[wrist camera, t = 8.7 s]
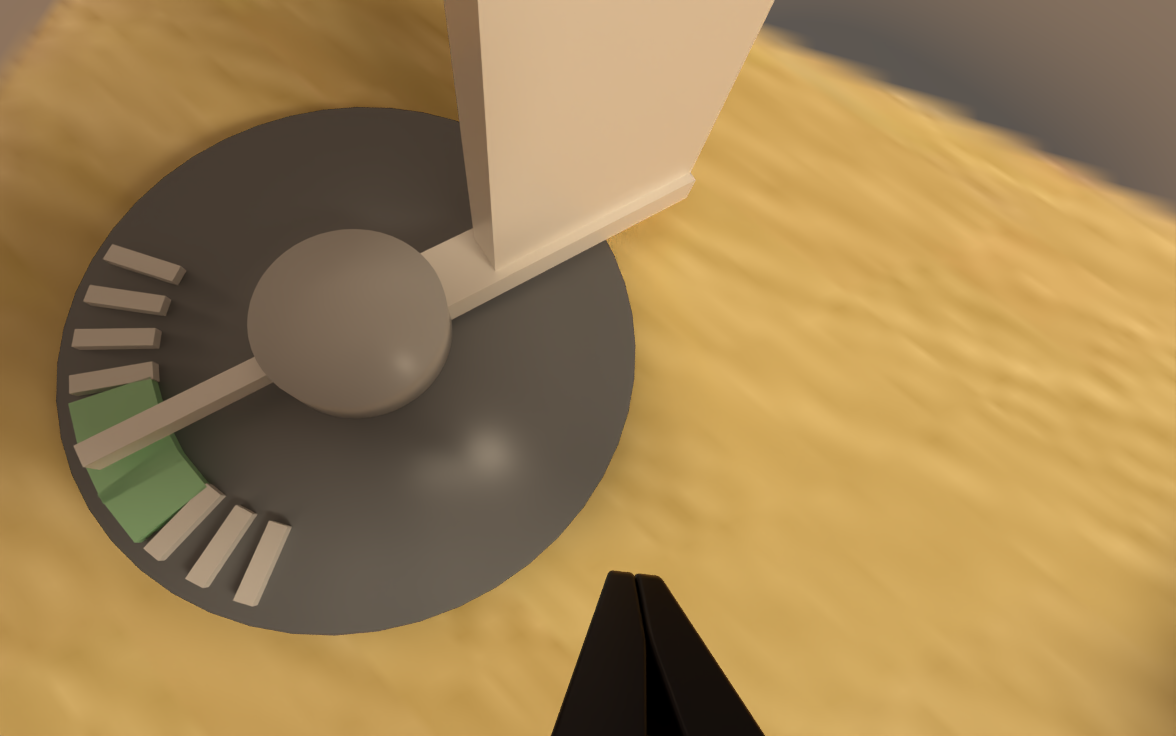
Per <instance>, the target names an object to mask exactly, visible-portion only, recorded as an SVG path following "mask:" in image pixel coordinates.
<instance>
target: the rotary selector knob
mask: <svg viewBox="0 0 1176 736" xmlns="http://www.w3.org/2000/svg"><path fill="white" fill-rule="evenodd" d="M773 2H774V0H444V6H445V14H446V22H447V30H448V37H449V45H450V53H451V61H452V69H453V76H454V84H455V92H456V100H457V107H458V115H459V123H460V131H461V139H462V146H463V154H464V162H465V170H466V178H467V185H468V193H469V201H470V209H471V217H472V224H473V228H472V229H470V230H468V231H466V232H464V233H462V234H460V235H457V236H455V237H453V238H451V239H449V240H447V241H445V242H443V243H441V244H439V245H437V246H435V247H432V248H430V249H428V250H426V251H424V252H422V253H419V252H418V251H417V250H415V249H414V248H413V247H411V246H410V245H408V244H407V243H405V242H403V241H401V240H399V239H397V238H395V237H393V236H390V235H387V234H384V233H381V232H376V231H371V230H362V229H343V230H336V231H330V232H326V233H322V234H318V235H316V236H313V237H311V238H308V239H306V240H304V241H302V242H300V243H298V244H296V245H294V246H293V247H291V248H290V249H289V250H287V251H286V252H284V253H283V254H282V255H281V256H280V257H278V258H277V259H276V260H275V261H274V262H273V263H272V264H271V266H270V267H269V268H268V269H267V270H266V272H265V273H264V274H263V276H262V277H261V279H260V280H259V282H258V284H257V286H256V288H255V290H254V292H253V295H252V298H251V301H250V305H249V310H248V318H247V330H248V338H249V342H250V346H251V350H252V352H253V354H254V357H253V358H251V359H249V360H247V361H245V362H243V363H241V364H239V365H237V366H235V367H233V368H231V369H229V370H227V371H224V372H222V373H220V374H218V375H216V376H214V377H212V378H210V379H208V380H206V381H204V382H202V383H200V384H198V385H196V386H194V387H192V388H190V389H188V390H186V391H184V392H182V393H180V394H178V395H176V396H174V397H172V398H169V399H167V400H165V401H163V402H161V403H159V404H157V405H155V406H153V407H151V408H149V409H147V410H145V411H143V412H141V413H139V414H137V415H135V416H133V417H131V418H129V419H127V420H125V421H123V422H121V423H119V424H116V425H114V426H112V427H110V428H108V429H106V430H104V431H102V432H100V433H98V434H96V435H94V436H92V437H90V438H88V439H86V440H84V441H82V442H80V443H78V444H76V445H74V448H75V451H76V453H77V455H78V457H79V460H80V462H81V464H82V466H83V467H85V468H91V469H97V470H101V469H103V468H105V467H107V466H109V465H111V464H113V463H115V462H117V461H119V460H121V459H123V458H125V457H127V456H129V455H131V454H133V453H135V452H137V451H139V450H141V449H142V448H144V447H146V446H148V445H150V444H152V443H154V442H156V441H158V440H160V439H162V438H164V437H166V436H168V435H170V434H172V433H174V432H176V431H178V430H180V429H182V428H184V427H186V426H188V425H190V424H192V423H194V422H196V421H198V420H200V419H202V418H204V417H206V416H208V415H210V414H212V413H214V412H216V411H218V410H220V409H221V408H223V407H225V406H227V405H229V404H231V403H233V402H235V401H237V400H239V399H241V398H243V397H245V396H247V395H249V394H251V393H253V392H255V391H257V390H259V389H261V388H263V387H265V386H267V385H269V384H271V383H275V384H276V385H277V386H278V387H279V388H280V389H282V390H284V391H285V392H287V393H288V394H290V395H291V396H293V397H295V398H296V399H298V400H299V401H301V402H302V403H304V404H305V405H307V406H309V407H310V408H312V409H315V410H317V411H319V412H321V413H325V414H328V415H331V416H336V417H342V418H356V419H357V418H370V417H375V416H379V415H383V414H386V413H389V412H392V411H395V410H397V409H399V408H401V407H403V406H405V405H407V404H408V403H410V402H412V401H413V400H415V399H416V398H417V397H418V396H420V395H421V394H422V393H423V392H425V390H426V389H427V388H428V387H429V386H430V385H431V384H432V383H433V382H434V380H435V379H436V378H437V376H438V375H439V374H440V372H441V370H442V368H443V366H444V364H445V362H446V360H447V357H448V354H449V351H450V346H451V341H452V319H454V318H456V317H458V316H460V315H462V314H464V313H466V312H468V311H470V310H471V309H473V308H475V307H477V306H479V305H481V304H483V303H485V302H487V301H489V300H491V299H493V298H495V297H496V296H498V295H500V294H502V293H504V292H506V291H508V290H510V289H512V288H514V287H516V286H518V285H520V284H522V283H523V282H525V281H527V280H529V279H531V278H533V277H535V276H537V275H539V274H541V273H543V272H545V271H547V270H548V269H550V268H552V267H554V266H556V265H558V264H560V263H562V262H564V261H566V260H568V259H570V258H572V257H573V256H575V255H577V254H579V253H581V252H583V251H585V250H587V249H589V248H591V247H593V246H595V245H597V244H598V243H600V242H602V241H604V240H606V239H608V238H610V237H612V236H614V235H616V234H618V233H620V232H622V231H623V230H625V229H627V228H629V227H631V226H633V225H635V224H637V223H639V222H641V221H643V220H645V219H647V218H648V217H650V216H652V215H654V214H656V213H658V212H660V211H662V210H664V209H666V208H668V207H670V206H672V205H674V204H675V203H677V202H679V201H681V200H683V199H685V198H687V196H688V194H689V192H690V190H691V188H692V186H693V184H694V182H695V178H694V177H693V175H692V174H691V173H690V172H691V170H692V168H693V166H694V164H695V162H696V160H697V158H698V156H699V154H700V152H701V150H702V148H703V146H704V144H705V142H706V139H707V137H708V135H709V133H710V131H711V129H712V127H713V125H714V123H715V121H716V119H717V117H718V115H719V113H720V111H721V109H722V107H723V105H724V103H725V101H726V98H727V96H728V94H729V92H730V90H731V88H732V86H733V84H734V82H735V80H736V78H737V76H738V74H739V72H740V70H741V68H742V66H743V64H744V62H745V60H746V58H747V55H748V53H749V51H750V49H751V47H752V45H753V43H754V41H755V39H756V37H757V35H758V33H759V31H760V29H761V27H762V25H763V23H764V21H765V18H766V16H767V14H768V12H769V10H770V8H771V6H772V4H773Z"/></svg>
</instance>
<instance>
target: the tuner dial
mask: <svg viewBox="0 0 1176 736" xmlns="http://www.w3.org/2000/svg"><path fill="white" fill-rule="evenodd" d="M472 228H473V224H472V217H471V209H470V201H469V193H468V185H467V178H466V170H465V162H464V154H463V146H462V139H461V131H460V123H459V122H458V121H455V120H452V119H448V118H444V117H439V116H435V115H431V114H427V113H423V112H416V111H408V110H401V109H393V108H368V107H353V108H341V109H328V110H320V111H315V112H309V113H304V114H299V115H293V116H289V117H285V118H282V119H279V120H275V121H272V122H268V123H265V124H262V125H258V126H255V127H253V128H251V129H248V130H246V131H243V132H241V133H239V134H236V135H234V136H232V137H229V138H227V139H224V140H222V141H221V142H219V143H217V144H215V145H213V146H212V147H210V148H208V149H206V150H204V151H203V152H201V153H199V154H197V155H195V156H194V157H192V158H191V159H189V160H188V161H186V162H185V163H184V164H182V165H181V166H179V167H178V168H176V169H175V170H174V171H172V172H171V173H169V174H168V175H167V176H165V177H164V178H163V179H162V180H160V181H159V182H158V183H157V184H156V185H155V186H154V187H153V188H151V189H150V190H149V191H148V192H147V193H146V194H145V195H144V196H143V197H141V198H140V199H139V200H138V201H137V202H136V203H135V204H134V205H133V207H132V208H131V209H130V210H129V211H128V212H127V213H126V215H125V216H124V217H123V218H122V219H121V220H120V221H119V223H118V224H117V225H116V226H115V227H114V228H113V229H112V231H111V232H110V234H109V235H108V237H107V238H106V240H105V241H104V243H103V244H102V246H101V247H100V249H99V250H98V252H97V253H96V255H95V256H94V258H93V259H92V261H91V263H90V265H89V267H88V269H87V271H86V273H85V275H84V277H83V279H82V281H81V283H80V285H79V287H78V289H77V291H76V293H75V296H74V299H73V302H72V305H71V308H70V311H69V314H68V317H67V320H66V323H65V326H64V330H63V336H62V341H61V346H60V352H59V357H58V363H57V394H56V403H57V410H58V418H59V426H60V434H61V440H62V443H63V446H64V450H65V453H66V456H67V460H68V463H69V466H70V470H71V473H72V476H73V478H74V480H75V482H76V484H77V486H78V488H79V490H80V492H81V494H82V496H83V498H84V500H85V502H86V504H87V506H88V508H89V510H90V511H91V513H92V514H93V516H94V517H95V518H96V520H97V521H98V523H99V524H100V526H101V527H102V528H103V530H104V531H105V533H106V534H107V535H108V537H109V538H110V540H111V541H112V542H113V543H114V544H115V545H116V546H117V547H118V548H119V549H120V550H121V551H122V552H123V553H124V554H125V555H126V556H127V557H128V558H129V559H130V560H131V561H132V562H133V563H134V564H135V565H136V566H137V567H138V568H139V569H140V570H141V571H143V572H144V573H145V574H147V575H148V576H149V577H151V578H152V579H154V580H155V581H156V582H158V583H159V584H160V585H162V586H163V587H165V588H166V589H167V590H169V591H170V592H171V593H173V594H175V595H177V596H179V597H181V598H183V599H184V600H186V601H188V602H190V603H192V604H194V605H196V606H198V607H200V608H202V609H204V610H206V611H208V612H210V613H213V614H216V615H219V616H222V617H225V618H228V619H231V620H234V621H236V622H239V623H242V624H245V625H248V626H253V627H258V628H264V629H269V630H275V631H280V632H286V633H291V634H313V635H344V634H355V633H365V632H376V631H381V630H386V629H390V628H394V627H398V626H403V625H407V624H411V623H416V622H420V621H423V620H425V619H428V618H431V617H433V616H436V615H439V614H441V613H444V612H447V611H449V610H452V609H455V608H457V607H460V606H462V605H464V604H465V603H467V602H469V601H471V600H473V599H475V598H477V597H479V596H481V595H482V594H484V593H486V592H488V591H490V590H492V589H494V588H496V587H497V586H499V585H500V584H501V583H503V582H504V581H506V580H507V579H509V578H510V577H511V576H513V575H514V574H516V573H517V572H518V571H520V570H521V569H523V568H524V567H526V566H527V565H528V564H530V563H531V562H532V561H533V560H534V559H535V558H536V557H537V556H538V555H539V554H541V553H542V552H543V551H544V550H545V549H546V548H547V547H548V546H549V545H550V544H551V543H553V542H554V541H555V540H556V539H557V538H558V537H559V536H560V535H561V533H562V532H563V531H564V530H565V529H566V528H567V526H568V525H569V524H570V523H571V522H572V520H573V519H574V518H575V517H576V516H577V514H578V513H579V512H580V511H581V510H582V508H583V507H584V506H585V504H586V502H587V501H588V499H589V498H590V496H591V495H592V493H593V491H594V490H595V488H596V487H597V485H598V484H599V482H600V480H601V479H602V477H603V476H604V473H605V471H606V469H607V467H608V465H609V463H610V461H611V458H612V456H613V454H614V452H615V450H616V448H617V446H618V443H619V440H620V437H621V434H622V430H623V427H624V424H625V421H626V418H627V414H628V411H629V405H630V400H631V394H632V388H633V382H634V369H635V337H634V327H633V317H632V311H631V307H630V303H629V299H628V294H627V290H626V286H625V282H624V280H623V277H622V275H621V272H620V269H619V267H618V264H617V262H616V259H615V256H614V254H613V252H612V250H611V249H610V247H609V245H608V243H607V241H606V240H604V241H602V242H600V243H598V244H597V245H595V246H593V247H591V248H589V249H587V250H585V251H583V252H581V253H579V254H577V255H575V256H573V257H572V258H570V259H568V260H566V261H564V262H562V263H560V264H558V265H556V266H554V267H552V268H550V269H548V270H547V271H545V272H543V273H541V274H539V275H537V276H535V277H533V278H531V279H529V280H527V281H525V282H523V283H522V284H520V285H518V286H516V287H514V288H512V289H510V290H508V291H506V292H504V293H502V294H500V295H498V296H496V297H495V298H493V299H491V300H489V301H487V302H485V303H483V304H481V305H479V306H477V307H475V308H473V309H471V310H470V311H468V312H466V313H464V314H462V315H460V316H458V317H456V318H454V319H452V341H451V346H450V351H449V354H448V357H447V360H446V362H445V364H444V366H443V368H442V370H441V372H440V374H439V375H438V376H437V378H436V379H435V380H434V382H433V383H432V384H431V385H430V386H429V387H428V388H427V389H426V390H425V392H423V393H422V394H421V395H420V396H418V397H417V398H416V399H415V400H413V401H412V402H410V403H408V404H407V405H405V406H403V407H401V408H399V409H397V410H395V411H392V412H389V413H386V414H383V415H379V416H375V417H370V418H357V419H356V418H342V417H336V416H331V415H328V414H325V413H321V412H319V411H317V410H315V409H312V408H310V407H309V406H307V405H305V404H304V403H302V402H301V401H299V400H298V399H296V398H295V397H293V396H291V395H290V394H288V393H287V392H285V391H284V390H282V389H280V388H279V387H278V386H277V385H276V384H275V383H271V384H269V385H267V386H265V387H263V388H261V389H259V390H257V391H255V392H253V393H251V394H249V395H247V396H245V397H243V398H241V399H239V400H237V401H235V402H233V403H231V404H229V405H227V406H225V407H223V408H221V409H220V410H218V411H216V412H214V413H212V414H210V415H208V416H206V417H204V418H202V419H200V420H198V421H196V422H194V423H192V424H190V425H188V426H186V427H184V428H182V429H180V430H178V431H176V432H174V433H172V434H170V435H168V436H166V437H164V438H162V439H160V440H158V441H156V442H154V443H152V444H150V445H148V446H146V447H144V448H142V449H141V450H139V451H137V452H135V453H133V454H131V455H129V456H127V457H125V458H123V459H121V460H119V461H117V462H115V463H113V464H111V465H109V466H107V467H105V468H103V469H101V470H97V469H91V468H85V467H83V466H82V464H81V462H80V460H79V457H78V455H77V453H76V451H75V448H74V445H76V444H78V443H80V442H82V441H84V440H86V439H88V438H90V437H92V436H94V435H96V434H98V433H100V432H102V431H104V430H106V429H108V428H110V427H112V426H114V425H116V424H119V423H121V422H123V421H125V420H127V419H129V418H131V417H133V416H135V415H137V414H139V413H141V412H143V411H145V410H147V409H149V408H151V407H153V406H155V405H157V404H159V403H161V402H163V401H165V400H167V399H169V398H172V397H174V396H176V395H178V394H180V393H182V392H184V391H186V390H188V389H190V388H192V387H194V386H196V385H198V384H200V383H202V382H204V381H206V380H208V379H210V378H212V377H214V376H216V375H218V374H220V373H222V372H224V371H227V370H229V369H231V368H233V367H235V366H237V365H239V364H241V363H243V362H245V361H247V360H249V359H251V358H253V357H254V354H253V352H252V350H251V346H250V342H249V338H248V330H247V318H248V310H249V305H250V301H251V298H252V295H253V292H254V290H255V288H256V286H257V284H258V282H259V280H260V279H261V277H262V276H263V274H264V273H265V272H266V270H267V269H268V268H269V267H270V266H271V264H272V263H273V262H274V261H275V260H276V259H277V258H278V257H280V256H281V255H282V254H283V253H284V252H286V251H287V250H289V249H290V248H291V247H293V246H294V245H296V244H298V243H300V242H302V241H304V240H306V239H308V238H311V237H313V236H316V235H318V234H322V233H326V232H330V231H336V230H343V229H362V230H371V231H376V232H381V233H384V234H387V235H390V236H393V237H395V238H397V239H399V240H401V241H403V242H405V243H407V244H408V245H410V246H411V247H413V248H414V249H415V250H417V251H418V252H419V253H422V252H424V251H426V250H428V249H430V248H432V247H435V246H437V245H439V244H441V243H443V242H445V241H447V240H449V239H451V238H453V237H455V236H457V235H460V234H462V233H464V232H466V231H468V230H470V229H472Z"/></svg>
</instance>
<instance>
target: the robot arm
mask: <svg viewBox="0 0 1176 736" xmlns="http://www.w3.org/2000/svg"><path fill="white" fill-rule="evenodd" d="M551 736H765V735H764V733H763V732H762V730H761V729H760V727H759V726H758V724H757V723H756V721H755V720H754V718H753V716H752V715H751V713H750V712H749V710H748V709H747V707H746V706H745V704H744V703H743V701H742V700H741V698H740V697H739V695H738V694H737V692H736V691H735V689H734V688H733V686H732V685H731V683H730V681H729V680H728V678H727V677H726V675H725V674H724V672H723V671H722V669H721V668H720V666H719V665H718V663H717V662H716V660H715V659H714V657H713V656H712V654H711V653H710V651H709V650H708V648H707V647H706V645H705V643H704V642H703V640H702V639H701V637H700V636H699V634H698V633H697V631H696V630H695V628H694V627H693V625H692V624H691V622H690V621H689V619H688V618H687V616H686V615H685V613H684V612H683V610H682V608H681V607H680V605H679V604H678V602H677V601H676V599H675V598H674V596H673V595H672V593H671V592H670V590H669V589H668V587H667V586H666V584H665V583H664V581H663V580H662V579H661V578H660V577H659V576H656V575H647V574H636V575H635V576H634V575H633V574H632V573H630V572H621V571H610V572H609V573H608V575H607V578H606V580H605V583H604V586H603V589H602V592H601V595H600V598H599V600H598V603H597V606H596V609H595V612H594V615H593V617H592V620H591V623H590V626H589V629H588V632H587V635H586V637H585V640H584V643H583V646H582V649H581V652H580V655H579V657H578V660H577V663H576V666H575V669H574V672H573V674H572V677H571V680H570V683H569V686H568V689H567V692H566V694H565V697H564V700H563V703H562V706H561V709H560V712H559V714H558V717H557V720H556V723H555V726H554V729H553V731H552V734H551Z"/></svg>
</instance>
